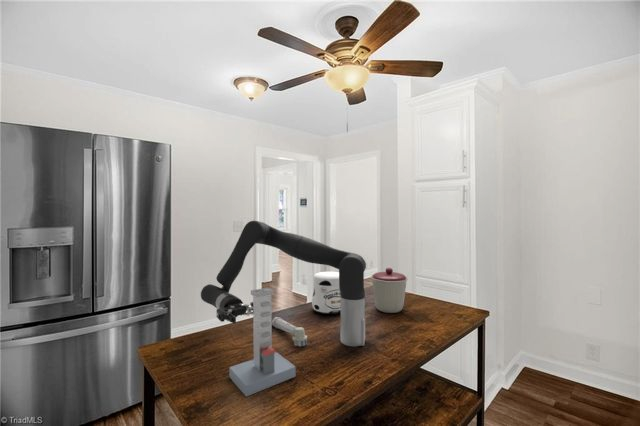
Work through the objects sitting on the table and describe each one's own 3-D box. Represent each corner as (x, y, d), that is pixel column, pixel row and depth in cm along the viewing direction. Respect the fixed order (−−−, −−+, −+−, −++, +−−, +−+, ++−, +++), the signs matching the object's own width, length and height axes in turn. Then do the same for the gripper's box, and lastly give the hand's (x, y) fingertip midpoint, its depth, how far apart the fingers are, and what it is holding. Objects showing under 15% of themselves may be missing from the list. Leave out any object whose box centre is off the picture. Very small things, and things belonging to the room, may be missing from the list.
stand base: (276, 360, 102) (275, 332, 101) (295, 376, 92) (295, 345, 92) (229, 377, 92) (229, 345, 92) (246, 396, 82) (245, 361, 82)
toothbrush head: (280, 315, 134) (309, 325, 113) (281, 330, 133) (310, 344, 113) (269, 317, 131) (296, 328, 110) (270, 333, 130) (298, 347, 110)
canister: (370, 303, 162) (370, 264, 162) (405, 304, 160) (405, 264, 160) (371, 315, 144) (371, 271, 144) (410, 317, 142) (410, 272, 142)
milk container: (336, 319, 139) (336, 280, 138) (304, 312, 148) (304, 276, 147) (352, 309, 153) (352, 273, 153) (323, 303, 162) (323, 269, 162)
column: (267, 361, 95) (267, 287, 95) (275, 367, 91) (275, 290, 91) (251, 366, 92) (250, 290, 91) (258, 373, 88) (257, 294, 87)
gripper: (209, 298, 109) (226, 310, 96) (246, 291, 117) (266, 301, 104) (209, 319, 109) (226, 334, 96) (247, 310, 117) (266, 323, 105)
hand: (247, 317), depth 100 cm, fingers open, 8 cm apart
